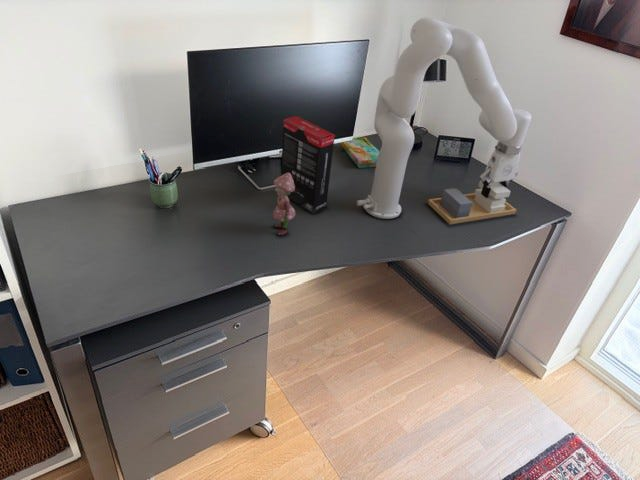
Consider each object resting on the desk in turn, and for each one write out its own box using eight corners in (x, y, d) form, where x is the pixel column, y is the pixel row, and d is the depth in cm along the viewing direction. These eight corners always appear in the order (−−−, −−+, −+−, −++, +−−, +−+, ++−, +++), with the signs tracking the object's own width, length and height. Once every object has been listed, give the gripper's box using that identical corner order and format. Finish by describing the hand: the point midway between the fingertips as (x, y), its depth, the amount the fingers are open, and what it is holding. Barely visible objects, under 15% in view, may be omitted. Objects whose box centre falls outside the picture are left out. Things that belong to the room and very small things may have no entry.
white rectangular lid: (494, 198, 168) (496, 193, 166) (478, 185, 174) (480, 180, 173) (508, 196, 170) (510, 191, 169) (492, 184, 177) (494, 178, 175)
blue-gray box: (456, 219, 166) (458, 212, 164) (439, 204, 173) (441, 197, 171) (468, 217, 167) (470, 210, 166) (451, 202, 175) (453, 195, 173)
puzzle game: (358, 158, 188) (339, 136, 203) (356, 169, 190) (338, 147, 205) (386, 156, 191) (365, 135, 206) (384, 167, 194) (364, 145, 209)
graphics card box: (327, 208, 165) (337, 132, 150) (313, 215, 161) (321, 137, 145) (292, 188, 174) (297, 114, 158) (277, 194, 170) (281, 118, 154)
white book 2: (490, 207, 170) (492, 202, 169) (473, 194, 177) (475, 189, 175) (504, 204, 173) (506, 199, 171) (487, 192, 179) (488, 186, 178)
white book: (489, 213, 171) (491, 208, 170) (474, 200, 178) (475, 195, 177) (503, 211, 173) (505, 205, 172) (487, 198, 180) (489, 193, 179)
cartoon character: (298, 239, 150) (303, 180, 138) (275, 241, 147) (278, 182, 136) (289, 220, 157) (293, 164, 146) (267, 222, 155) (270, 165, 143)
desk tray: (449, 226, 163) (450, 220, 162) (427, 205, 174) (428, 199, 172) (514, 215, 173) (516, 210, 172) (490, 196, 183) (492, 190, 182)
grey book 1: (458, 212, 164) (460, 204, 162) (441, 197, 171) (443, 189, 170) (470, 210, 166) (473, 202, 164) (453, 195, 173) (455, 187, 171)
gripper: (494, 154, 157) (478, 203, 167) (536, 150, 163) (518, 197, 173) (480, 144, 162) (465, 192, 173) (521, 141, 168) (504, 187, 179)
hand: (492, 194), depth 173 cm, fingers closed on white rectangular lid, 6 cm apart
